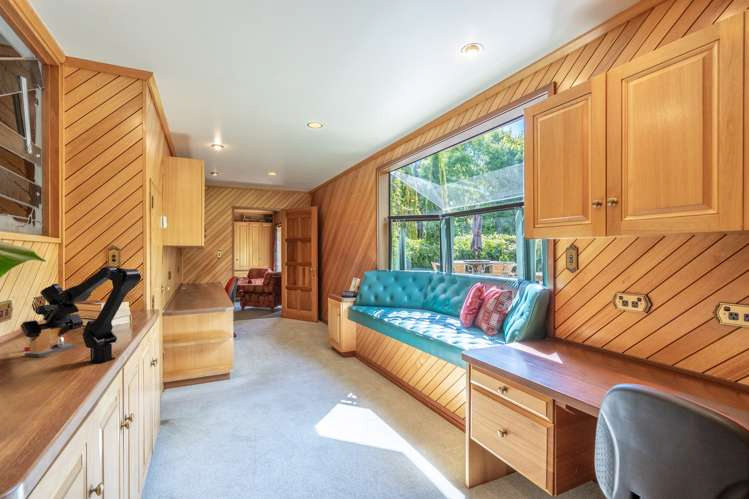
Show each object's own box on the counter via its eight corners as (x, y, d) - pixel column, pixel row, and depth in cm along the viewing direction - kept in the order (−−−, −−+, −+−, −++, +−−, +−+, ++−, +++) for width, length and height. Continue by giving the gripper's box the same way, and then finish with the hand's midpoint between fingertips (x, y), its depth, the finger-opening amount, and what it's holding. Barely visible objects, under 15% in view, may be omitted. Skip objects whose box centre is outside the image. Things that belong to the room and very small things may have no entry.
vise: (74, 347, 155) (74, 336, 155) (38, 357, 141) (38, 344, 141) (61, 346, 157) (61, 335, 157) (24, 356, 143) (24, 343, 143)
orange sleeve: (50, 349, 146) (50, 327, 146) (36, 352, 142) (36, 329, 142) (43, 348, 148) (43, 326, 148) (29, 351, 144) (29, 328, 144)
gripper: (78, 295, 151) (63, 319, 155) (23, 301, 133) (6, 328, 137) (90, 314, 148) (74, 338, 152) (35, 323, 131) (18, 350, 134)
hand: (45, 338), depth 144 cm, fingers open, 9 cm apart
